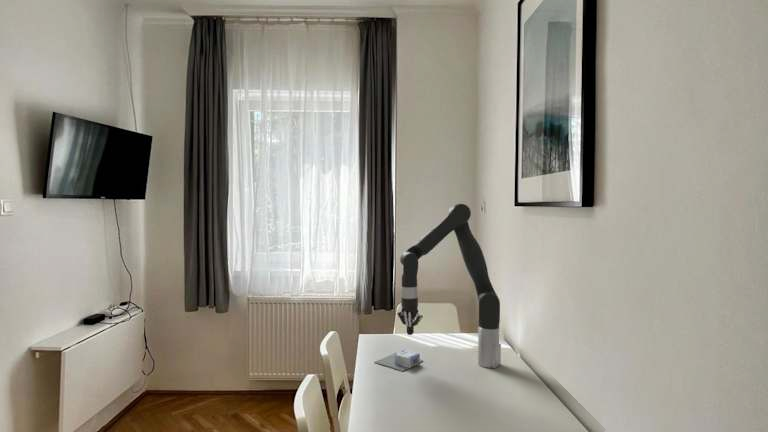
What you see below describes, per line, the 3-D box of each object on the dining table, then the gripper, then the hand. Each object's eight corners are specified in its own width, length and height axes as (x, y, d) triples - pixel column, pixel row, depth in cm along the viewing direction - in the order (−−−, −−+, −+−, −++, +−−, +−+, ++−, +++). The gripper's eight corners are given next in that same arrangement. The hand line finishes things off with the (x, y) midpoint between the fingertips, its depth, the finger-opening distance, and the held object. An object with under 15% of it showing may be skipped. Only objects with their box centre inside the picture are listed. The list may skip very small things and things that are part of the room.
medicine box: (410, 358, 180) (394, 354, 186) (410, 368, 180) (394, 363, 186) (420, 353, 187) (404, 349, 192) (419, 363, 187) (404, 359, 192)
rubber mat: (423, 361, 190) (423, 360, 190) (402, 371, 178) (402, 370, 178) (396, 353, 201) (396, 352, 201) (374, 362, 188) (374, 361, 188)
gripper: (426, 296, 184) (427, 335, 184) (402, 293, 192) (403, 330, 192) (417, 299, 178) (417, 339, 178) (392, 295, 186) (393, 333, 186)
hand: (410, 334), depth 185 cm, fingers closed
